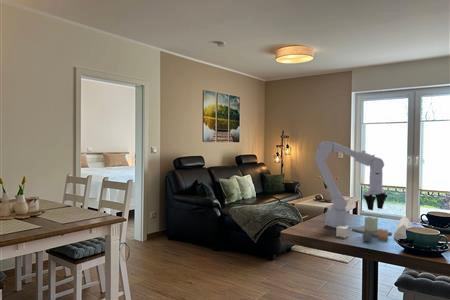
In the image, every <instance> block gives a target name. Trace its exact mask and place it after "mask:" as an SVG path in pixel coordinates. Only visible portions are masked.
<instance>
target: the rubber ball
mask: <svg viewBox="0 0 450 300" xmlns="http://www.w3.org/2000/svg"><path fill="white" fill-rule="evenodd" d="M361 238H362V240H363V241H364V242H366V243H368V242H371V241H372V236H371V235H370V234H368V233H365V234H363V233H362V237H361Z"/></svg>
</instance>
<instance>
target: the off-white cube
mask: <svg viewBox="0 0 450 300" xmlns="http://www.w3.org/2000/svg"><path fill="white" fill-rule="evenodd" d="M349 228H350V227H344V226H338V227H336V231H335V235H336V237H339V236H340V237H339V238H344V239H345V238H348V237H349V235H350V234H349V231H350V230H349Z"/></svg>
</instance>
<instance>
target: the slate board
mask: <svg viewBox="0 0 450 300" xmlns="http://www.w3.org/2000/svg"><path fill="white" fill-rule="evenodd" d="M378 229H379V228H377V231H374V232H371V231H367V230H365V225H362V226H358V227H353V228H351V231H353V232H357V233H360V234H362V235H363V234H365V233H368V234H370V235H371V237H375V238H378ZM392 234H393V233H392V232H390V231H388V237H389V236H392Z"/></svg>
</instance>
